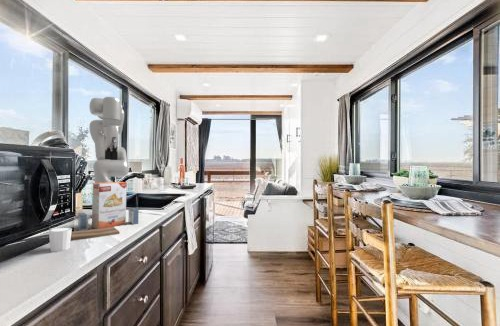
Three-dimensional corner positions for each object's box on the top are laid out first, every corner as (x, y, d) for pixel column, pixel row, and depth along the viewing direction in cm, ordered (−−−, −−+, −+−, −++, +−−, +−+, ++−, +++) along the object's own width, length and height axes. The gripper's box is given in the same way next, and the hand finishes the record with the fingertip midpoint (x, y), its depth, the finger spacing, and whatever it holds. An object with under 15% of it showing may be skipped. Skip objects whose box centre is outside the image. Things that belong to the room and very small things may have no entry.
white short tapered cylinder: (74, 249, 99) (74, 229, 99) (50, 253, 94) (51, 233, 94) (68, 244, 104) (68, 226, 103) (46, 249, 99) (46, 229, 98)
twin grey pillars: (78, 228, 128) (78, 213, 128) (134, 221, 144) (134, 208, 144) (80, 231, 123) (80, 215, 123) (138, 223, 139) (138, 209, 139)
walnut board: (66, 234, 117) (66, 232, 117) (112, 228, 129) (112, 226, 128) (70, 240, 109) (70, 238, 109) (119, 233, 120) (119, 231, 120)
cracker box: (98, 229, 126) (99, 183, 126) (91, 228, 129) (91, 182, 129) (126, 224, 138) (127, 181, 138) (119, 222, 141) (119, 181, 141)
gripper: (98, 124, 137) (98, 158, 137) (107, 121, 123) (106, 160, 124) (115, 125, 141) (114, 159, 142) (125, 123, 128) (124, 160, 129)
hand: (111, 159), depth 133 cm, fingers open, 9 cm apart
